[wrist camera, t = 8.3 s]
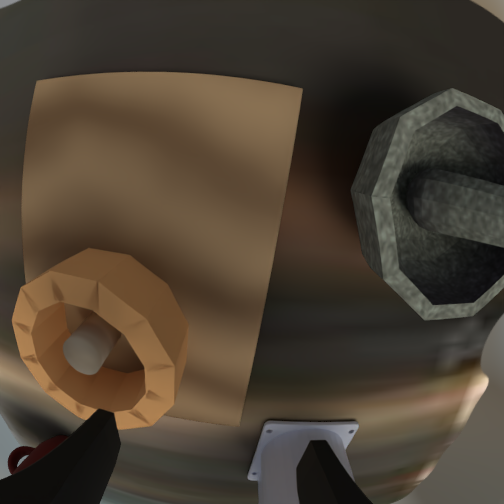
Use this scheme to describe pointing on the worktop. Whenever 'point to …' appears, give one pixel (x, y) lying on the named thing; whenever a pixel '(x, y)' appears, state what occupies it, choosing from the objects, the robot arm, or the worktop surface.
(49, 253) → the shelf plate
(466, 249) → the mortar and pestle
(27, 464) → the mug
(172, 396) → the orange notched ring
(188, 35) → the worktop surface
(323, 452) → the robot arm
